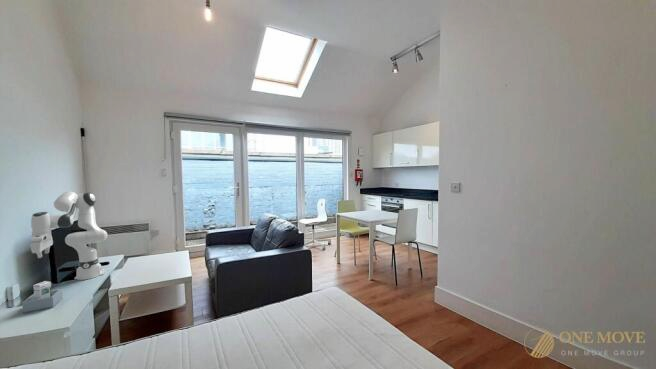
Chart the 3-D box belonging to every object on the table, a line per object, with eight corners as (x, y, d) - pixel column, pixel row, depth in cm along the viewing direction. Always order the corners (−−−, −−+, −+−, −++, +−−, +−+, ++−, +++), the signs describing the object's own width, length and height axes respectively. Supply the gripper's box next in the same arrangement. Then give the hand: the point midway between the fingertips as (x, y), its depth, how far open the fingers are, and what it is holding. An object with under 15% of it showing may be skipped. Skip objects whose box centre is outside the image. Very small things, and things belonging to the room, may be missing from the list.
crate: (34, 303, 168) (33, 293, 168) (62, 298, 175) (62, 288, 174) (22, 313, 156) (22, 302, 156) (53, 307, 163) (52, 296, 162)
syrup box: (41, 307, 162) (40, 285, 161) (34, 306, 163) (33, 284, 162) (52, 302, 167) (51, 281, 167) (45, 301, 168) (44, 280, 168)
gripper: (42, 232, 180) (44, 251, 181) (27, 240, 162) (29, 261, 163) (55, 231, 183) (56, 250, 184) (41, 238, 165) (43, 259, 167)
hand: (43, 255), depth 174 cm, fingers open, 8 cm apart
